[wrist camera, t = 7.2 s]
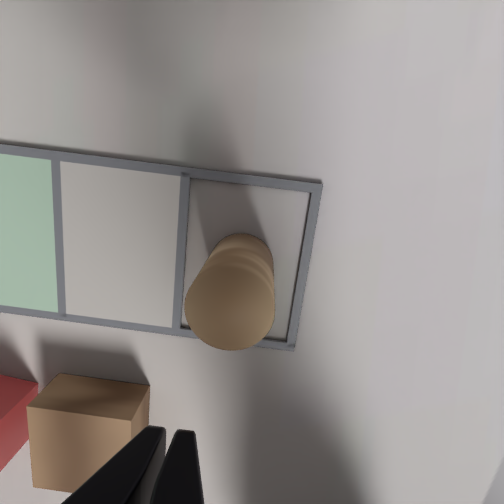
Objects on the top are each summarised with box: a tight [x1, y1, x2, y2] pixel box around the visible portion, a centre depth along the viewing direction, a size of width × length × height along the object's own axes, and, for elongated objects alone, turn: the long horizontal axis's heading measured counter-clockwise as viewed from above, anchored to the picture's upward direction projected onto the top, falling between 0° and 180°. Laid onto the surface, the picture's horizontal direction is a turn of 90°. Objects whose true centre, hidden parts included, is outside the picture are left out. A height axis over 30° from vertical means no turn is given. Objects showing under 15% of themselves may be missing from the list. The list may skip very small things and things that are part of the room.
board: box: [0, 144, 323, 352], centre depth 19 cm, size 22×10×1 cm, turn 83°
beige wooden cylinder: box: [185, 234, 275, 350], centre depth 16 cm, size 4×4×6 cm
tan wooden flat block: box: [26, 373, 150, 493], centre depth 21 cm, size 6×6×3 cm
